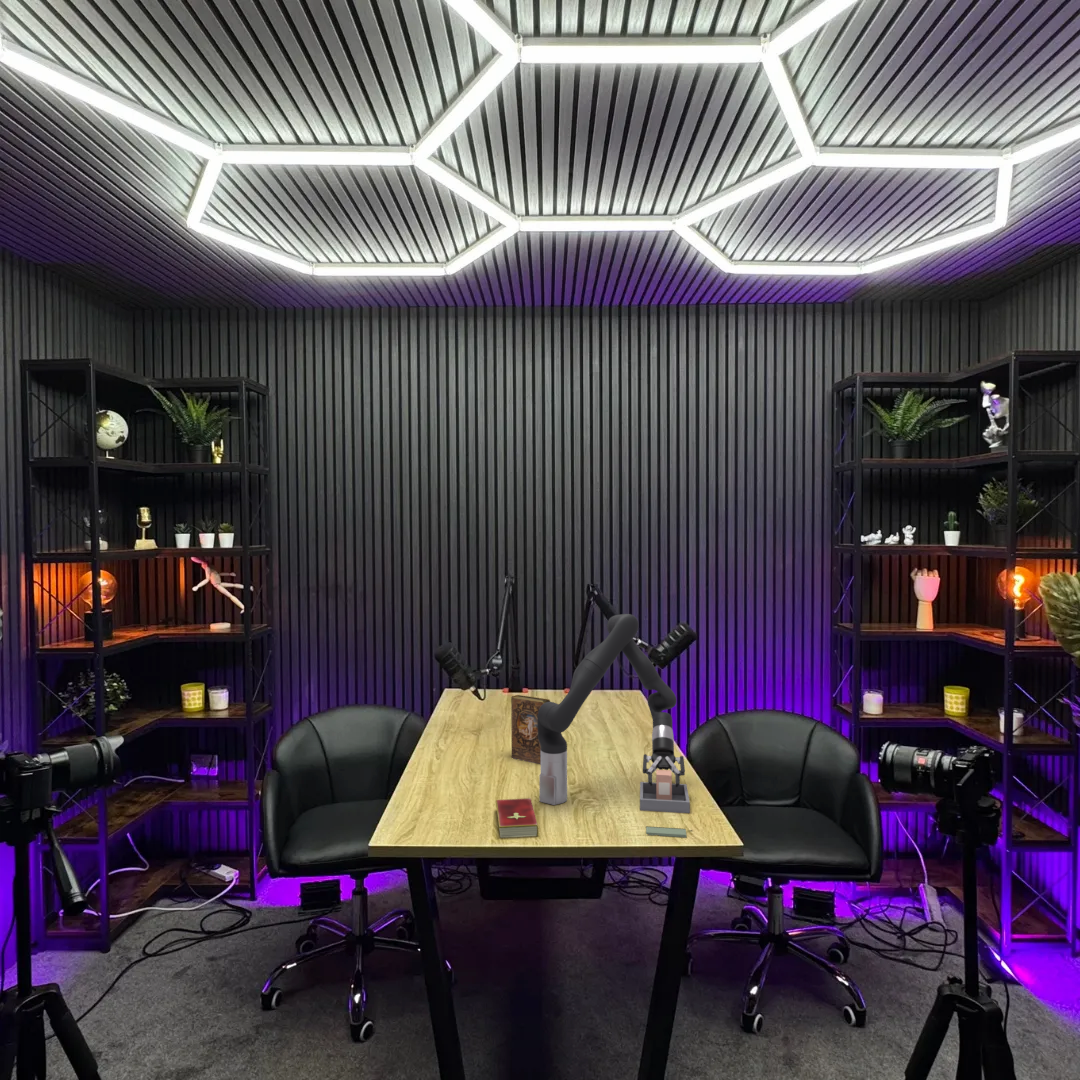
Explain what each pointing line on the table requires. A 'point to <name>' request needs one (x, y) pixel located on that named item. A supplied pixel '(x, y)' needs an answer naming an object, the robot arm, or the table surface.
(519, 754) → the book
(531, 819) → the hardcover book
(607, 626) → the robot arm
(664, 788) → the labelled box
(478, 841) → the table surface
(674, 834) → the grey-green flat plate
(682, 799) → the parts bin
